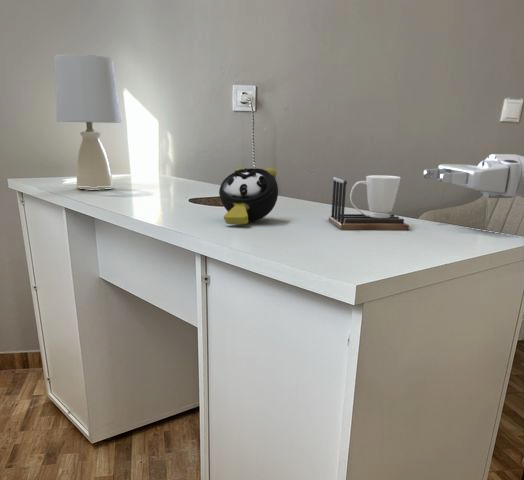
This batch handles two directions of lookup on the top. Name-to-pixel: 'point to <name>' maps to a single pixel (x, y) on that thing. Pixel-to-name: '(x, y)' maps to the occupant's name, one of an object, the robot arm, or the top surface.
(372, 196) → the cup
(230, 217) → the alarm clock
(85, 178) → the lamp
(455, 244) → the top surface
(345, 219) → the rack
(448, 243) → the top surface
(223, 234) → the top surface
